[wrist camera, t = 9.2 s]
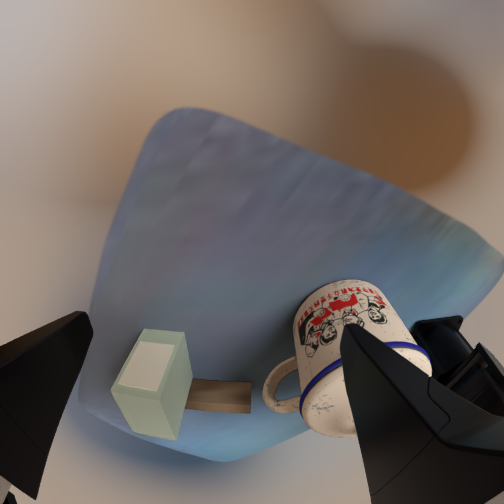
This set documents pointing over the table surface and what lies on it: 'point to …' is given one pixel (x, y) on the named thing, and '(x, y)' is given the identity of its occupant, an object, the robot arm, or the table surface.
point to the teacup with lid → (336, 352)
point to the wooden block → (219, 396)
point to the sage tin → (155, 383)
